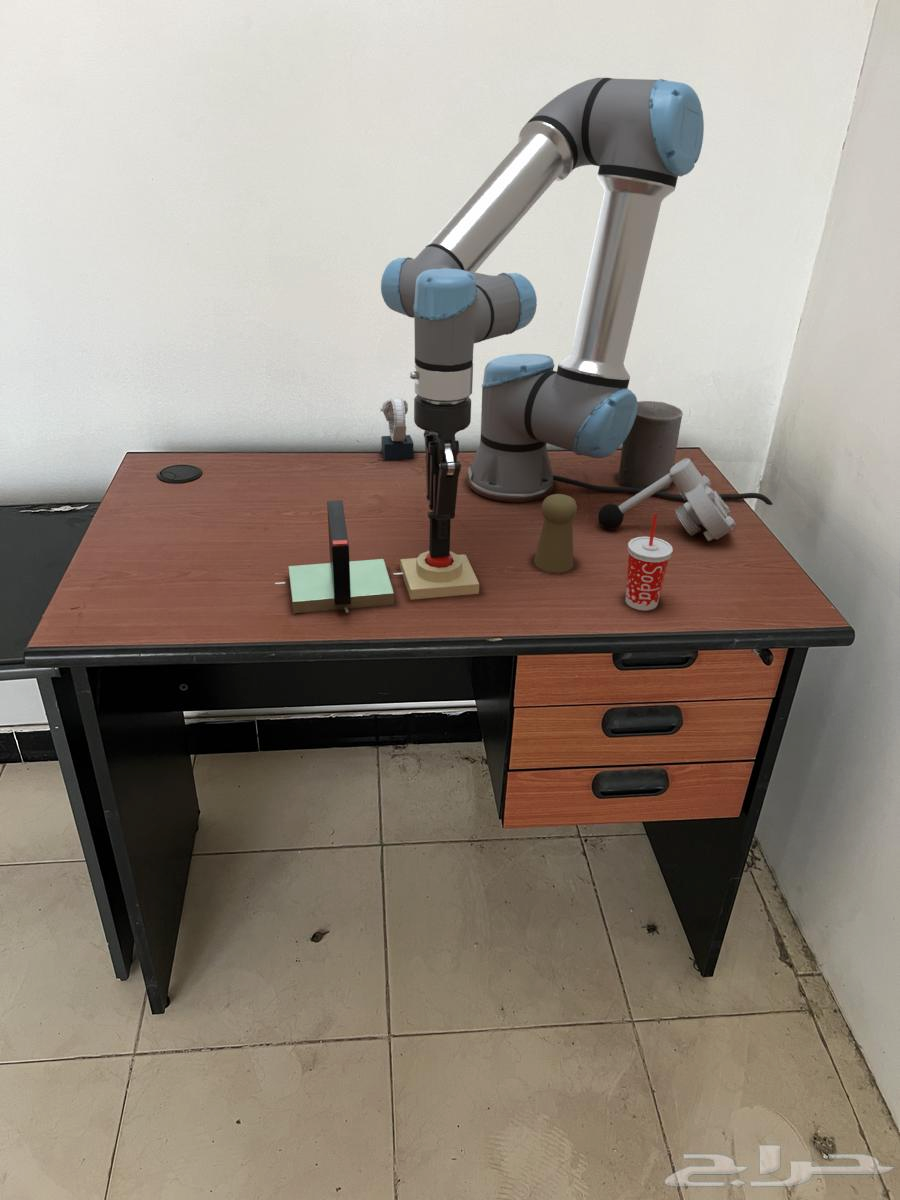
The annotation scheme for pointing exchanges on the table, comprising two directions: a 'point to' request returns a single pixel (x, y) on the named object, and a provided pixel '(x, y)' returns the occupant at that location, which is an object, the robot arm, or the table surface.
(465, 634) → the table surface
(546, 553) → the olive pawn
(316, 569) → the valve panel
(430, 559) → the red push button
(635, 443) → the pillar candle
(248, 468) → the table surface
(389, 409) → the watch
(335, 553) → the black panel
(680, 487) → the mechanical valve
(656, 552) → the beverage cup
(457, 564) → the button box
